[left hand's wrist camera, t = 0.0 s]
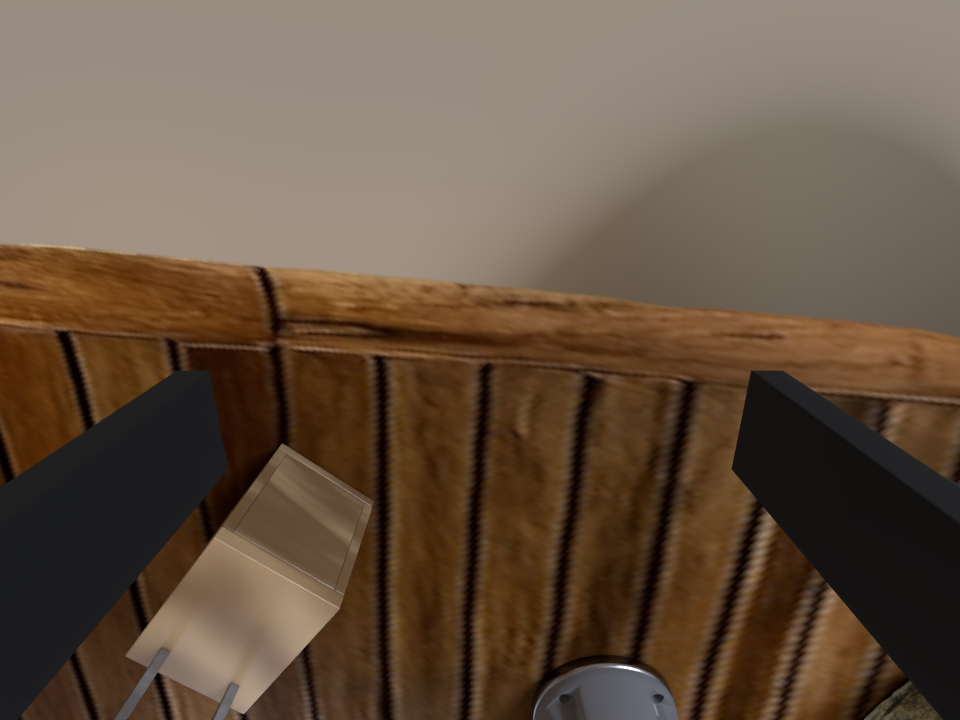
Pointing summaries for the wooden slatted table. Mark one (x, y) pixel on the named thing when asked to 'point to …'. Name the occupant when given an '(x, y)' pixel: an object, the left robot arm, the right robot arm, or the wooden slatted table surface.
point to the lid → (231, 625)
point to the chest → (302, 518)
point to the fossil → (904, 706)
